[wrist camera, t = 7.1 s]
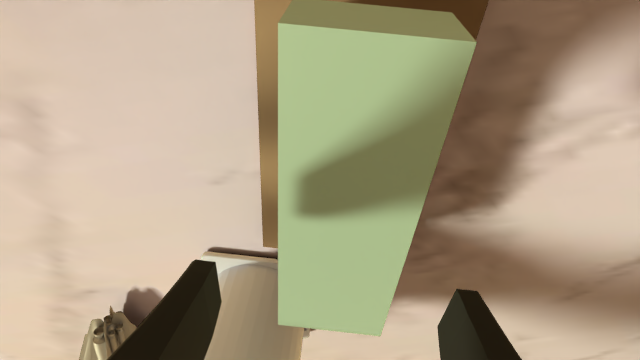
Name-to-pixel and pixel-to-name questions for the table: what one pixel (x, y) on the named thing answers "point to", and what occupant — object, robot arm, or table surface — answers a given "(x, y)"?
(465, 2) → the peg base
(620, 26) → the table surface
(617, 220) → the table surface
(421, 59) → the shelf board
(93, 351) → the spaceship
